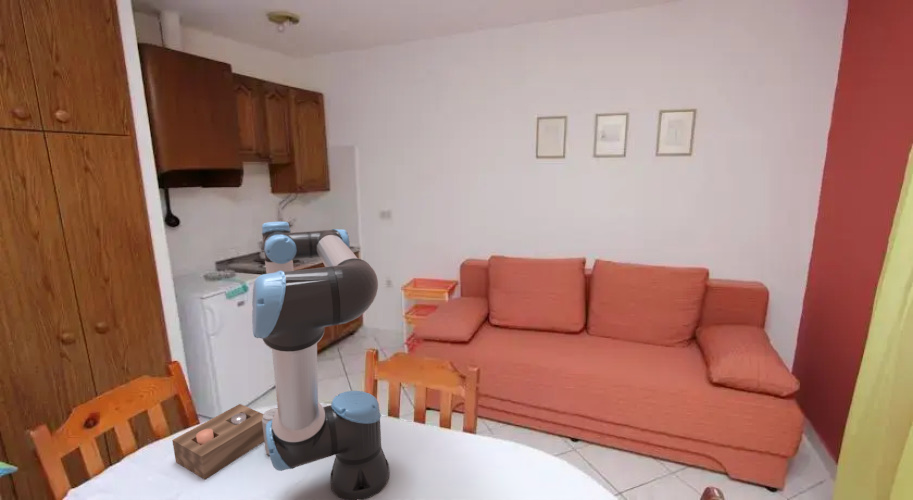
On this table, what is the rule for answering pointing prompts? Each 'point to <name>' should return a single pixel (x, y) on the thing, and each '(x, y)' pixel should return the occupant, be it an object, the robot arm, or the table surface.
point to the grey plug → (238, 418)
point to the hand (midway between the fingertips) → (287, 347)
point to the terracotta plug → (204, 436)
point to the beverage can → (266, 418)
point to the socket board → (219, 442)
